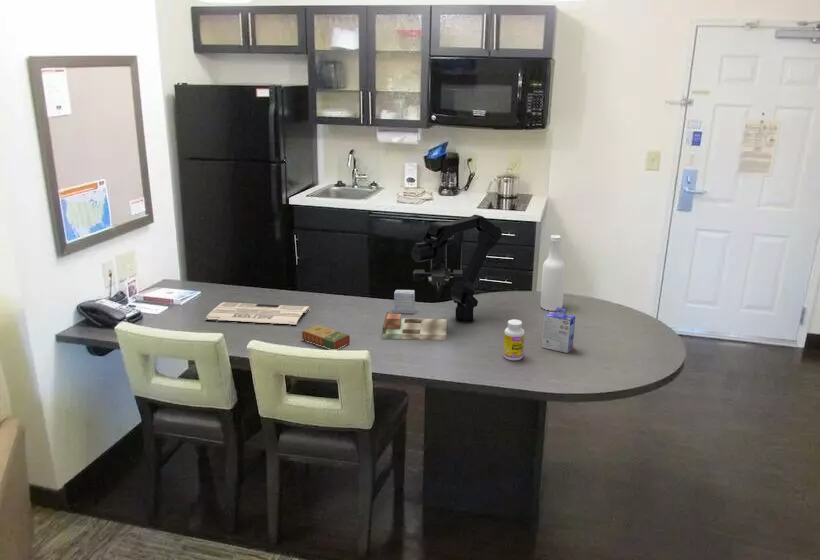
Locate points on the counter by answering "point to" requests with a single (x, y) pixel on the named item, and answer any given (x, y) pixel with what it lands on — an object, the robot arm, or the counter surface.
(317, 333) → the carton
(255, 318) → the newspaper
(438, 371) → the counter surface
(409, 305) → the medicine box
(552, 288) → the alcohol
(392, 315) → the block
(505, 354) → the supplement bottle
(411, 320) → the trap board
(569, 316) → the ink cartridge box
